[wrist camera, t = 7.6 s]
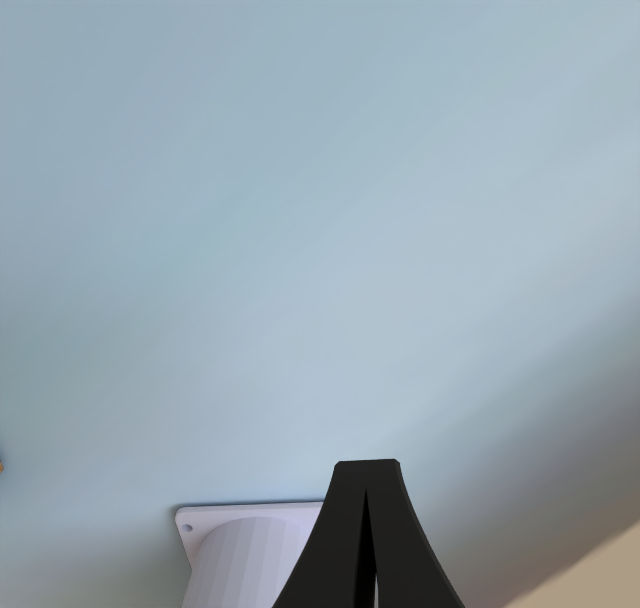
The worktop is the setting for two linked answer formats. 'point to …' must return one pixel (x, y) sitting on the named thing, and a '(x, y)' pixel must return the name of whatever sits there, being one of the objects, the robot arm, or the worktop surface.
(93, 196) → the worktop surface
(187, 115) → the worktop surface
